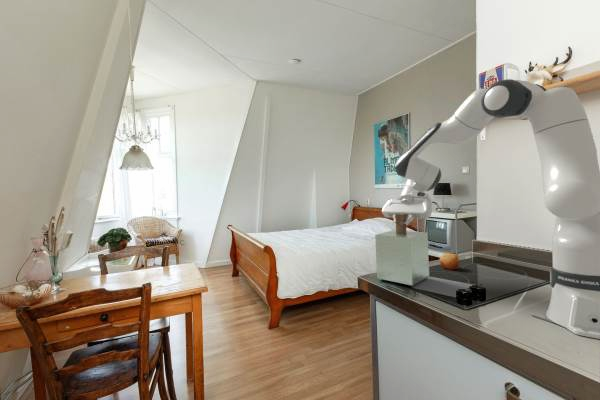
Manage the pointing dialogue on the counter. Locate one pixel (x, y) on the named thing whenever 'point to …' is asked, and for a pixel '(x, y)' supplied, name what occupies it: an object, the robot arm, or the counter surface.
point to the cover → (402, 254)
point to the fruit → (449, 261)
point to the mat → (441, 286)
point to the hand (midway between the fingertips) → (400, 224)
